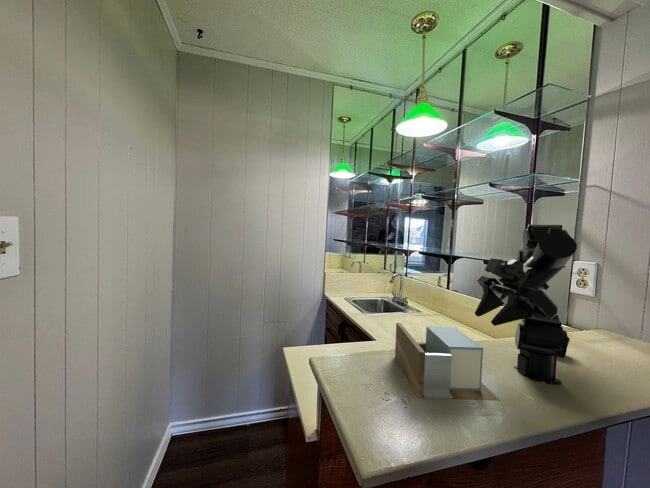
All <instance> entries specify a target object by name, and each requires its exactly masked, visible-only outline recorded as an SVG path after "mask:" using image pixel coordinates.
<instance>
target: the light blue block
mask: <svg viewBox="0 0 650 488" xmlns="http://www.w3.org/2000/svg"><path fill="white" fill-rule="evenodd" d="M425 333H426V334H425V343H426V348H425V353H443V354H451V355H452V360H451V380H450V390H476V391H481V382H482V375H483V374H482V373H483V356H484V347H483V346H482V345H480V344H478V343H477V342H476V341H475V340H473V339H472V338H470V337H469V336H468V335H466V334H465V333H464V332H462V331H461V330H459V329H458V328H456V327H455V326H437V325H435V326H432V325H429V326H428V325H427V326H426V329H425Z"/></svg>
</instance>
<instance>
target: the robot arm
mask: <svg viewBox="0 0 650 488" xmlns="http://www.w3.org/2000/svg"><path fill="white" fill-rule="evenodd" d="M522 244H523V247H522V248H521V249H518V253H517V258H516V259H510V260H509V261H507V260H504V259H502V258H493V257H490V259H489V261H488V262H487V264H486V266H485V268H484V271H485V272H487V273H491V274H493V275H495V276H496V277H498V278H495V277H492V276H488V275H481V276H480V277H479V278H478V279H477V280H476V283H477V284H479V286H480V287H481V288H482V292H483V294H482V297H481V298H480V299H481V300H480V301H479V304H477V308H476V309H475V312H474V315H475V316H476V317H478V318H479V317H481V316H483V315H486V314H488V313H489V312H490V313H491V312H492V311H494V310H497V309H498V308H500V307H501V306H503V307H502V308H501V309H500V310H499V311H498V313H496V314H495V316H494V317H493V318H492V319H491V320H490V323H491V325H493V326H495V327H497V326H499V325H505V324H507V323H512V322H515V321H519V320H520V323H519V322H518V323H517V327H516V330H515V333H514V335H515V336H514V339H515V340H514V343H515V346H516V349H517V350H519V353H518V354H517V364H516V365H517V366H513V368H514V369H515V370H517V371H518V372H519V373H520V374H522V375H523V376H525V377H527V378H528V379H530V380H531V381H532V382H539V383H540V382H542V383H546V384H552V385H553V384H559V385H562V384H563V383H562V380H560V379H559V378H557V377H556V375H557V374H556V373H557V362H558V359H557V358H560V359H565V357H566V356H567V349H568V346H569V343H570V341H571V339H570V337H569V336H568V333H567V331H566V330H565V329H564V328H563V326H562V322H561V321H560V318H559V315H558V309H559V308H558V307H559V306H557V305H556V304H555V302H554V301H553V300H552V299H551V298H550V297H549V296H548V295H547V293H546V292H545V291H544V290H546V291H547V290H548V289H549V288H550V286H549V284H548V283H549V282H550V280H552V279H553V278H554V277H555V276H556V275H557V274H559V273H560V272H561V271H562V270H563V269H564V268H565V267H566V264H567V263H568V261H569V260H570V259H571V258H572V256H573V255H574V254H575V252H576V250H577V249H578V243H577V242H576V241H575V239H574V238H573V237H572V236H571V235H570V234H569V232H568V230H567V229H563V225H562V224H528V225H527V227H526V228H525V229H523V231H522ZM501 283H502V284H501ZM506 298H507V303H505V302H504V301H503V300H504V299H506Z"/></svg>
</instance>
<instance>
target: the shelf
mask: <svg viewBox="0 0 650 488" xmlns="http://www.w3.org/2000/svg"><path fill="white" fill-rule="evenodd" d="M394 345H395V350H394V351H395V352H394V358H395V359H396V361H397V363H398V365H399V367H400V368H401V370H402V372H403V374H404V375H405V378H406V379H407V381H408V383H409V384H410V387H411V388H412V390H413V391H414V393H415V395H416V397H417V399H425V398H424V396H423V391H424V369H425V348H426V342H423V341H421V342H417V341H416V339H415V338H414V337H413V336H412V335H411V334H410V332H409V331H408V330H407V329H406V328H405V326H404V325H403V324H402V323H401V322H396V324H395V344H394ZM450 394H451V396H452V397H453V399H452V400H474V401H475V400H479V401H501V400H500V398H499V397H497V395H496V394H494V393H493V392H492V390H490V388H489V387H487V386H486V385H485V384H484V383H483V382H482V381H481V391H476V390H450ZM436 399H438V400H439V399H442V400H446V399H445V398H436Z"/></svg>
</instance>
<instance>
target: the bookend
mask: <svg viewBox="0 0 650 488" xmlns="http://www.w3.org/2000/svg"><path fill="white" fill-rule="evenodd" d="M451 360H452V355H451V354H443V353H425V369H424V391H423V396H424V398H423V399H437V398H445V399H444V400H454V399H453V397H452V396H451V394H450V380H451Z"/></svg>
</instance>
